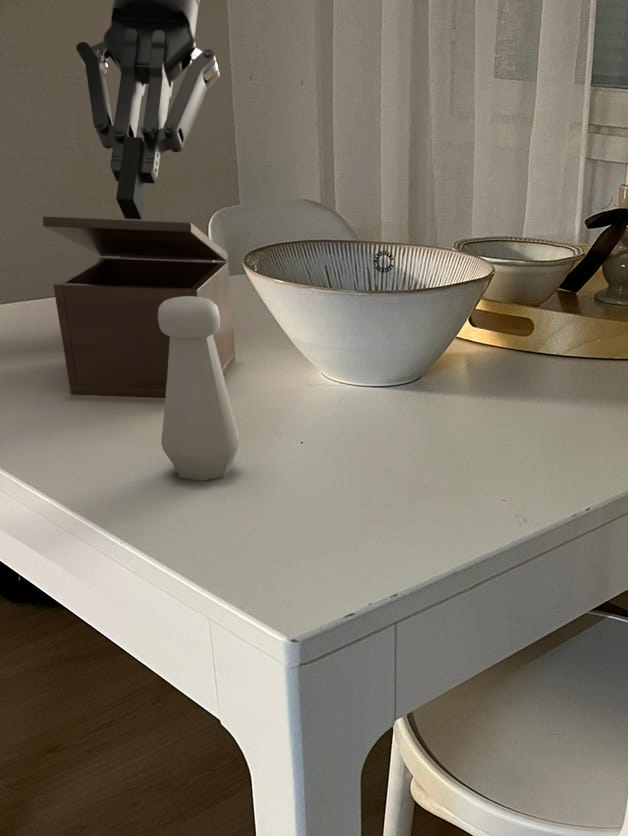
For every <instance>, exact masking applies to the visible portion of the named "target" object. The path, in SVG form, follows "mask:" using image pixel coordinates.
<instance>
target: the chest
mask: <svg viewBox="0 0 628 836" xmlns="http://www.w3.org/2000/svg"><path fill="white" fill-rule="evenodd" d="M229 273H230V272H229V262H228V261H207V260H197V261H189V260H165V259H141V258H120V257H111V256H99V257H98V258H97V259H95V260H93V261H91V262H90V263H88V264H86V265H84V266H83V267H80V269H78V270H76V271H74V272H73V273H71V274H69V275H67V276H66V277H64V278H62V279H60V280H59V281H57V282H56V283H54V284H53V293H54V298H55V299H54V300H55V304H56V310H57V316H58V317H57V318H58V323H59V330H60V335H61V341H62V347H63V353H64V361H65V366H66V372H67V378H68V384H69V392H70V394H71V395H88V396H89V395H90V396H91V395H92V396H93V395H94V396H114V397H115V396H117V397H118V396H119V397H144V398H146V397H147V398H165V397H166V386H167V374H168V359H169V344H170V336H168V335H166V334H164V333H163V332H162V331H161V329H160V327H159V322H158V308H159V306H160V305H161V304H162V303H163V302H164V301H165V300H168V299H171V298H175V297H184V296H193V297H201V298H205V299H209V300H211V301H212V302H213V303H214V304H215V305H216V306H217V307H218V311H219V315H220V327H219V330H218V332H217V333H215V334H213V337H214V341H215V345H216V349H217V353H218V357H219V361H220V364H221V368H222V372H223V376H224V377H225V375H226V374H227V372H228V371H229V369H230V368H231V367H232V366H233V364H235V361H236V351H235V350H236V348H235V337H234V335H235V334H234V324H233V311H232V298H231V297H232V296H231V284H230V274H229Z"/></svg>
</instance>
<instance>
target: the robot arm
mask: <svg viewBox="0 0 628 836" xmlns="http://www.w3.org/2000/svg"><path fill="white" fill-rule="evenodd" d="M199 6H200V0H113V1H112V8H111V16H110V17H111V19H110V22H111V23H110V25H109V28H108V29H107V30H106V31H105V32H104V34H103V38H102V40H103V41H101V42H99V43H96V44H94V45H92V46H90V44H89V43H88V42H85V41H79V42H78V43H77V44H76V46H75V49H76V52H77V54H78V56H79V59H80V61H81V63H82V65H83V69H84V70H85V73H86V79H87V87H88V95H89V101H90V108H91V115H92V116H91V117H92V122H93V127H94V129H95V131H96V133H97V137H98V138H99V140H100V143H101V145H102V147H103V148H105V149H108V150H109V149H112V151H111V159H110V165H109V166H110V169H111V172H112V174H113V176H114V178H115V181H116V182H117V190H116V197H115V199H116V203H117V204H118V206H119V208H120V210H121V213H122V215H123V217H124V220H139V221H143V214H144V206H145V205H144V204H145V198H146V189H147V184H156V182H157V181H158V178H159V170H160V169H159V168H160V162H161V156H162V155H163V153H165V152H167V151H171V152H172V153H180V152H182V151H183V149H184V147H185V144H186V141H187V140H188V137H189V134H190V132H191V130H192V128H193V125H194V123H195V120H196V118H197V115H198V113H199V112H200V111H199V110H200V109H201V106H202V104H203V101H204V99H205V96H206V93H207V92H208V90H209V89H210V88H211V87H212V86H213V85H214V83H215V82H217V80H218V79H219V78H220V75H221V74H220V69H219V66H218V62H217V58H216V54H215V51H213V50H212V49H209V48H207V49H204V50H201V49H200V48H198V47H197V45H196V44H197V43H196V42H197V41H196V32H197V22H198V15H199V14H198V13H199ZM109 59H111V60H112V62H113V63H114V65H115V66H116V67H117V69H118V70H119V71H120V81H119V87H118V94H117V101H116V106H115V107H116V109H115V115H114V120H113V116H112V111H111V103H110V96H109V90H108V84H107V80H106V77H105V75H106V74H107V73H108V70H107V69H108V67H109V66H108V65H109V63H108V60H109ZM185 71H186V72H185ZM184 72H185V75H184V77H183V79H182V82H181V84H180V87H179V89H178V92H177V93H176V96H175V98H174V100H173V103H172V106H171V107H170V109H169V104H170V98H172V95H173V87H174V81H175V80H176V79H177V78H179V77H180V76H181V75H182V74H183V73H184ZM146 85H147V93H146V99H145V109H144V117H143V124H142V126H141V125H139V118H140V112H141V105H142V99H143V97H144V96H145V91H146ZM168 112H169V113H168ZM113 121H114V122H113ZM138 126H139V129H140V131H141V135H142V137H143V138H142V137H139V136H137V133H138Z"/></svg>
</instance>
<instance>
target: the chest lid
mask: <svg viewBox="0 0 628 836" xmlns="http://www.w3.org/2000/svg"><path fill="white" fill-rule="evenodd" d="M42 226H43V227H44V228H46V229H49V231H52V232H54V233H56V234H58V235H60V236H61V237H64V238H66V239H67V240H69V241H71V242H72V243H75V244H76V245H79V246H81V247H82V248H85V249H86V250H88V251H90V252H92V253H94V254H96V255H97V256H99V257H117V258H120V257H135V258H159V259H183V260H197V261H213V262H228V252H227V251H225V250H224V249H223V248H222V247H220V245H218V244H217V243H216V242H215V241H213V240H212V239H211V238H210V237H208V236H207V235H206V234H205V233H204V232H203V231H201V230H200V229H199V228H198V227H196V225H194V224H193V223H192V222H185V221H184V222H182V221H162V220H161V221H159V220H158V221H157V220H139V219H112V218H111V219H110V218H93V217H92V218H91V217H90V218H87V217H68V216H67V217H66V216H42Z"/></svg>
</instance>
